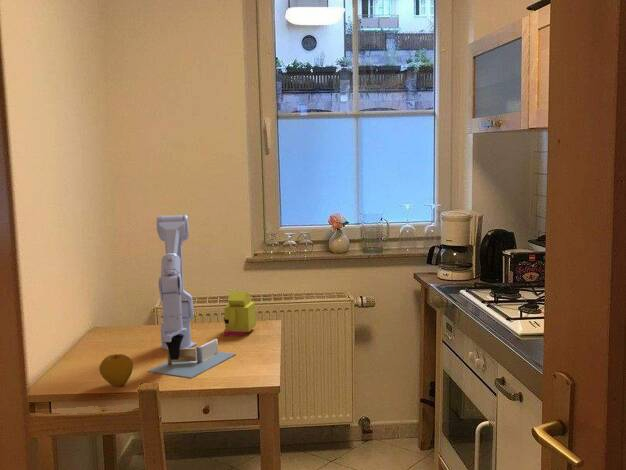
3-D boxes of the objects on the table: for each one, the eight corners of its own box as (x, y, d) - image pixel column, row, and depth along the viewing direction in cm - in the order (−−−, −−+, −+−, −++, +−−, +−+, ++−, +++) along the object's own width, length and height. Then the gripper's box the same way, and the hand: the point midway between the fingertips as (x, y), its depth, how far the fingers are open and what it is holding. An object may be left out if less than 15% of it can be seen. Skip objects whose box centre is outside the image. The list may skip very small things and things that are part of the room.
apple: (93, 389, 178) (91, 357, 177) (114, 378, 186) (112, 348, 185) (120, 392, 175) (118, 360, 174) (140, 381, 183) (138, 350, 182)
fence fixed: (196, 363, 197) (195, 347, 196) (215, 353, 206) (214, 338, 205) (200, 364, 196) (199, 348, 196) (219, 354, 205) (218, 339, 205)
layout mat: (147, 371, 191) (147, 370, 191) (194, 349, 211) (194, 348, 211) (191, 378, 184) (191, 377, 184) (235, 354, 204) (235, 353, 204)
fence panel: (196, 361, 198) (195, 347, 197) (196, 362, 197) (195, 348, 196) (168, 363, 197) (167, 348, 196) (167, 364, 196) (166, 350, 195)
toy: (231, 326, 238) (229, 286, 236) (258, 327, 236) (256, 287, 234) (219, 337, 225) (217, 294, 223) (247, 337, 223) (245, 295, 221)
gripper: (179, 320, 186) (182, 366, 187) (191, 308, 200) (193, 351, 202) (155, 321, 186) (158, 366, 188) (168, 309, 201) (171, 351, 202)
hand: (175, 358), depth 195 cm, fingers closed, pressing on fence panel
